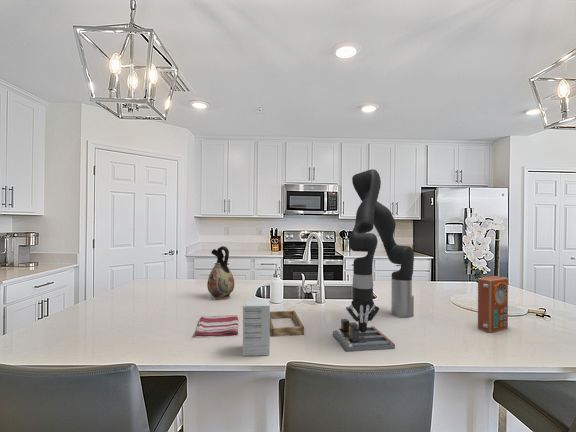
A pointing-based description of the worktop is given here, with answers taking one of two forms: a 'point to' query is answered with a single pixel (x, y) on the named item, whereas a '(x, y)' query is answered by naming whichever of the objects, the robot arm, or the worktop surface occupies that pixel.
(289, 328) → the wooden frame
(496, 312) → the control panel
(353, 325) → the breaker
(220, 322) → the dish towel
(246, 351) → the supplement box
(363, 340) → the breaker panel
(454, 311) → the worktop surface
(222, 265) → the ceramic jug
